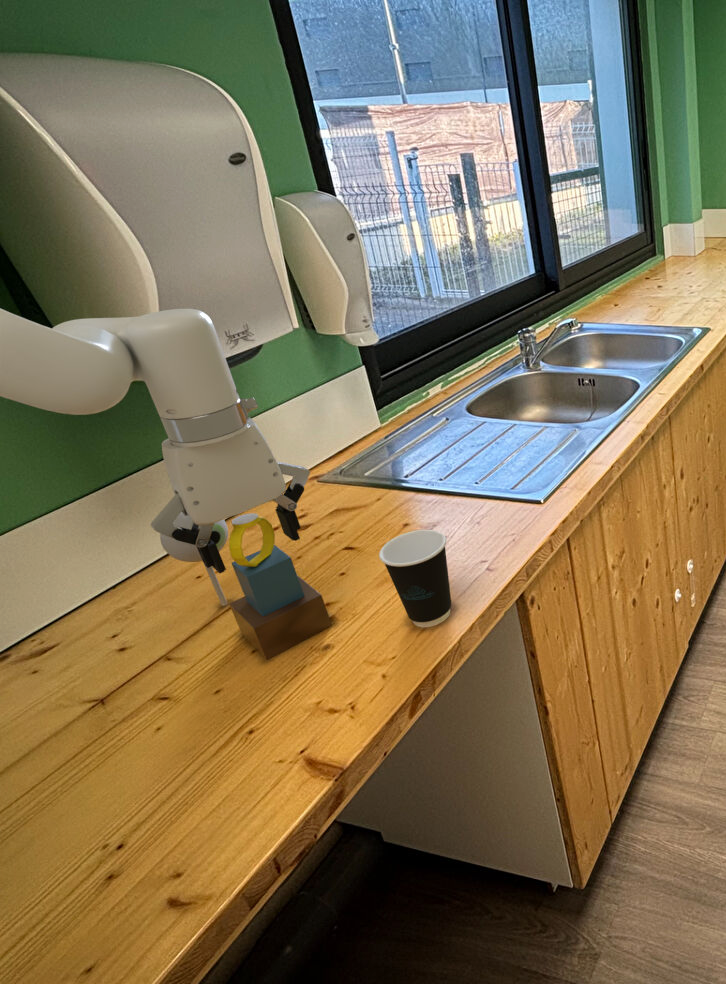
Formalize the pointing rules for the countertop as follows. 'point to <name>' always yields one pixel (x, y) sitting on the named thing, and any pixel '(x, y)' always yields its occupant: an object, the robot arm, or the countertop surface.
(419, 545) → the dixie cup
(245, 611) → the base block
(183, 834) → the countertop surface
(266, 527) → the watch
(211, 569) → the lollipop
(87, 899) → the countertop surface
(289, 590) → the top block
